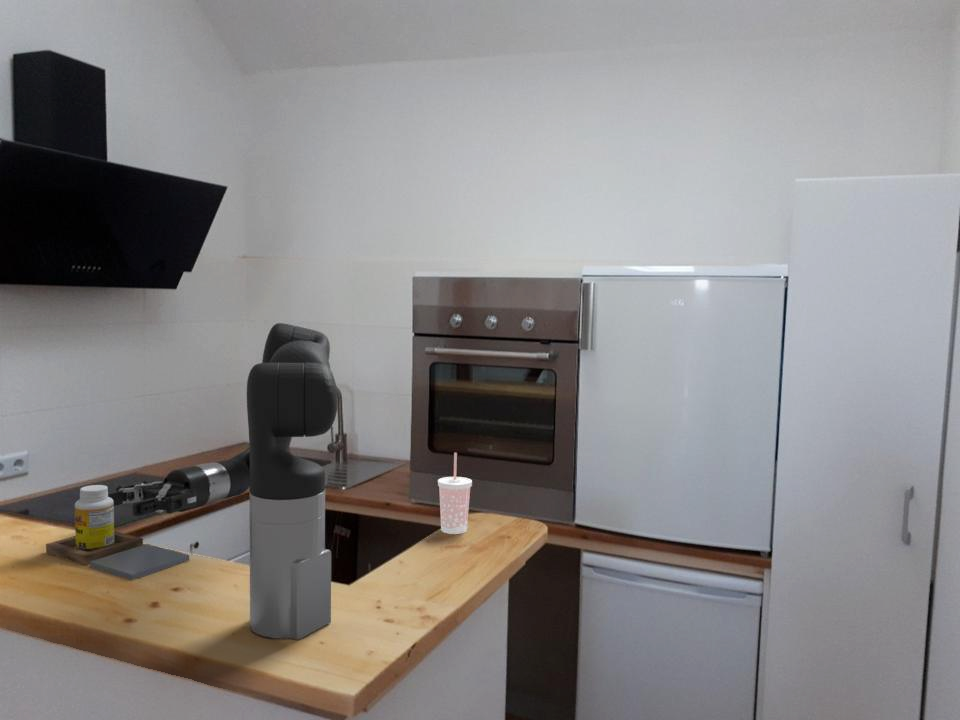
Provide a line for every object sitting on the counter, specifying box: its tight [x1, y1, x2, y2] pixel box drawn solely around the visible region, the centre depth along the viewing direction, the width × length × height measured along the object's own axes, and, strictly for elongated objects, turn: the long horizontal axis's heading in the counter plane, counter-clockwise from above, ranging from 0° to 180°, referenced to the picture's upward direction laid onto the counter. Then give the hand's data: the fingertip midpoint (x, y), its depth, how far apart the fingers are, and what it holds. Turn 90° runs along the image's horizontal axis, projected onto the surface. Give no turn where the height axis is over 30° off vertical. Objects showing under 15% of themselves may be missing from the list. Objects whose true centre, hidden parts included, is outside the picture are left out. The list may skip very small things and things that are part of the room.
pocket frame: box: [45, 530, 144, 566], centre depth 126 cm, size 10×10×2 cm
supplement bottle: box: [74, 484, 115, 552], centre depth 125 cm, size 6×6×10 cm
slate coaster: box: [89, 543, 190, 581], centre depth 120 cm, size 10×10×1 cm
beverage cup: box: [437, 452, 473, 535], centre depth 140 cm, size 6×6×14 cm
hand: (117, 505), depth 128 cm, fingers open, 8 cm apart
